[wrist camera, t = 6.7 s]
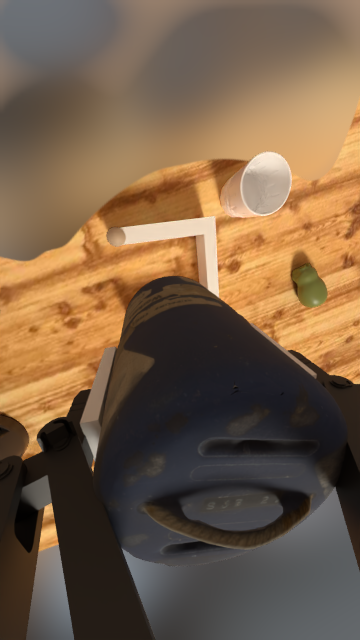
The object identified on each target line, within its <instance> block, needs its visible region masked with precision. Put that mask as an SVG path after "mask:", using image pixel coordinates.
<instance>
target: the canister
mask: <svg viewBox="0 0 360 640" xmlns="http://www.w3.org/2000/svg"><path fill="white" fill-rule="evenodd" d="M347 440H348V428H347V424H346V421H345V418H344V415H343V414H342V412H341V409H340V408H339V406H338V404H337V403H336V401H335V399H334V398H333V397H332V395H331V394H330V393H329V391H328V390H327V389H326V388H325V387H324V386H323V385H322V384H321V383H320V382H319V381H318V380H316V379H315V378H314V377H313V376H312V375H311V374H310V373H308V372H307V371H306V370H305V369H304V368H302V367H301V366H300V365H299V364H297V363H296V362H295V361H294V360H293V359H291V358H290V357H289V356H288V355H286V354H285V353H284V352H283V351H281V350H280V349H279V348H278V347H277V346H275V345H274V344H273V343H272V342H271V341H269V340H268V339H267V338H266V337H265V336H263V335H262V334H261V333H260V332H258V331H257V330H256V329H255V328H254V327H252V326H251V324H250V323H249V322H248V321H247V320H246V319H245V318H244V317H243V316H241V315H239V314H238V313H237V312H236V311H235V310H233V309H232V308H231V307H230V306H229V305H228V304H226V303H225V302H224V301H222V300H221V299H220V298H219V297H217V296H216V295H215V294H213V293H212V292H210V291H209V290H208V289H207V288H205V287H204V286H203V285H201V284H200V283H198V282H196V281H194V280H192V279H189V278H186V277H181V276H168V277H162V278H159V279H156V280H153V281H151V282H150V283H148V284H146V285H145V286H143V287H142V288H141V289H140V290H139V291H138V292H137V293H136V294H135V295H134V297H133V298H132V300H131V301H130V303H129V305H128V308H127V311H126V314H125V318H124V323H123V328H122V333H121V338H120V343H119V345H118V348H117V351H116V356H115V361H114V367H113V372H112V376H111V380H110V385H109V390H108V395H107V400H106V405H105V410H104V416H103V421H102V427H101V432H100V437H99V442H98V448H97V453H96V458H95V464H94V472H93V488H94V492H95V495H96V497H97V498H98V500H99V501H100V502H102V503H103V505H104V508H105V510H106V513H107V515H108V518H109V520H110V522H111V525H112V527H113V530H114V532H115V534H116V537H117V539H118V541H119V544H120V546H121V548H122V549H124V550H126V551H127V552H129V553H130V554H131V555H133V556H134V557H136V558H139V559H142V560H145V561H149V562H154V563H162V564H165V565H168V566H195V565H203V564H207V563H212V562H217V561H222V560H226V559H229V558H233V557H237V556H239V555H242V554H245V553H247V552H250V551H252V550H255V549H257V548H259V547H261V546H263V545H266V544H268V543H270V542H272V541H274V540H276V539H278V538H280V537H282V536H283V535H285V534H286V533H288V532H289V531H291V530H292V529H293V528H295V527H296V526H298V525H299V524H300V523H301V522H303V521H304V520H305V519H306V518H307V517H309V516H310V515H311V514H312V513H313V512H314V511H315V510H316V509H317V508H318V507H319V506H320V505H321V504H322V503H323V502H324V501H325V500H326V498H327V497H328V496H329V495H330V493H331V492H332V491H333V489H334V487H335V486H336V484H337V482H338V480H339V477H340V474H341V471H342V467H343V463H344V459H345V454H346V448H347Z"/></svg>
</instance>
